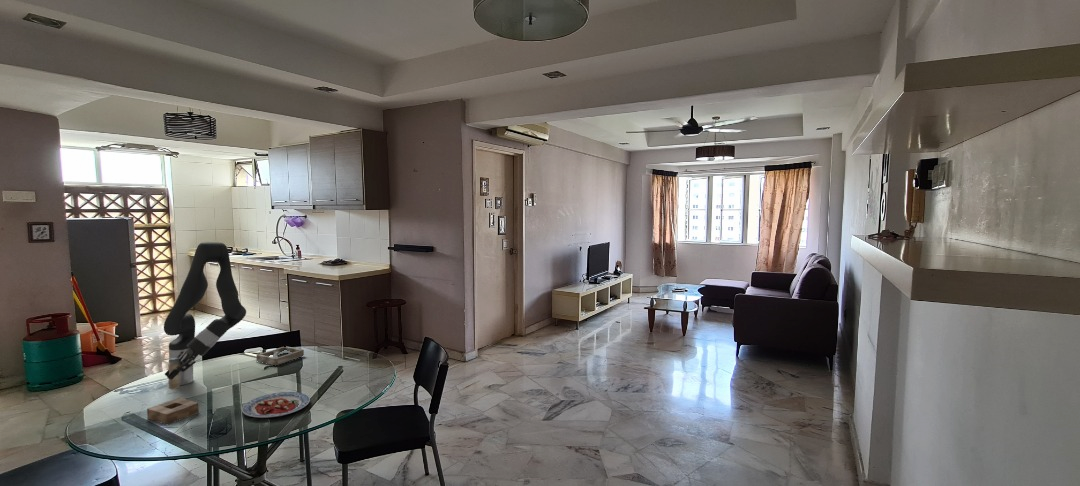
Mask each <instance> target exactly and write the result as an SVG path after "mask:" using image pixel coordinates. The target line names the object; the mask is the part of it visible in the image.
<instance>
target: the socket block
mask: <svg viewBox="0 0 1080 486" xmlns="http://www.w3.org/2000/svg"><path fill="white" fill-rule="evenodd" d="M199 404H200V403H199V402H196V401H193V400H189V399H185V398H182V397H177V398H175V399H172V400H169V401H165V402H163V403H160V404H157V405H154V406H152V407H148V408H147V409H146V413H147V414H146V418H147V420H149V419H151V420H150V421H153V420H155V421H154V422H156V421H158V422H157V423H159V422H162V423H161V424H163V423H165V424H164V425H166V424H168V425H170V424H169V423H171V424H173V423H175V422H174V421H176V422H178V421H180V420H179V419H181V420H183V419H182V418H184V419H185V417H186V418H188V416H189V417H191V416H194V415H196V414H199V412H200V411H199ZM177 420H178V421H177ZM172 422H173V423H172Z"/></svg>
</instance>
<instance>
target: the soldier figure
mask: <svg viewBox="0 0 1080 486" xmlns="http://www.w3.org/2000/svg"><path fill="white" fill-rule="evenodd" d="M273 353H274V354H273V357H274V358H278V357H279V356H278V354H279V353H280V352H279V351H278V350H277V351H273Z"/></svg>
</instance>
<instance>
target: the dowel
mask: <svg viewBox="0 0 1080 486" xmlns="http://www.w3.org/2000/svg"><path fill="white" fill-rule="evenodd" d="M168 364H169V374H170V373H171V372H172V371H173V370H174V369H175V368H176V367H177V366H178V365H179V358H171V359H169V358H168ZM168 384H169V385H168V389H170V390H174V389H178V388H180V385H179V373H178V374H177V375H176V376H175V377H174V378H173V379H172V380H171V379H169V383H168Z"/></svg>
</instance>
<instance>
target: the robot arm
mask: <svg viewBox="0 0 1080 486" xmlns="http://www.w3.org/2000/svg"><path fill="white" fill-rule="evenodd" d="M227 247H228V246H227V245H226V244H225V243H223V242H216V241H215V242H214V241H213V242H212V241H210V242H209V241H203V242H200V243H199V244H198V245H197V247H196V249H195V253H194V255H193V257H192V261H191V265H190V268H189V271H188V273H187V275H186V277H185V280H184V282H183V284H182V287H181V289H180V291H179V294H178V296H177V298H176V300H175V302H174V304H173V307H172V308H171V310H170V311H169V313H168V315H167V316H166V317H165V320H164V324H163V330H164V331H163V332H164V333H165V334H166V335H167V336H171V337H172V336H177V335H178V336H177V337H175V338H174V339H173V340H172V341H170V342H169V343H168V360H169V359H171V358H179V365H178V366H177V367H176V368H175V369H174V370H173V371H172V372H171V373H170V374H169V363H168V364H167V368H168V369H167V371H165V373H164V375H165V376H166V378H167V381H168V384H169V379H171V380H172V379H173V378H174V377H175V376H176V375H177V374H178V373H179V386H186V385H188V384H191V383H192V382H194V365H195V364H196V359H197V357H198V356H200V357H203V356H205V355H206V354H207V353H208V352H209V351H210V349H212V348H213V347H214V346H215V344H216V343H218V341H219V340H220V338H222V337H223V336H224V335H225V334H226V333H227V331H228V330H230V329H231V328H234V327H235V326H237V324H239V323H241V322H242V320H243V319H244V318H245V316H246V315H247V310H246V308H245V306H243V304H242V303H241V302H240V299H239V291H238V289H237V285H236V283H235V281H234V280H235V279H234V277H233V273H232V272H233V271H232V265H231V260H230V259H231V258H230V253H229V250H228V248H227ZM207 263H218V266H219V273H218V276H217V279H216V282H215V287H216V291H217V294H218V296H219V298H220V303H221V308H222V311H223V314H224V316H223V315H222V317H221V318H215V319H214V320H212V321H211V322H210V323H209V324H208V325H207V326H206V327H205V328H204V329H203V330H202V331H200V332H198V334H196V320H195V317H194V315H192V314H191V313H188V312H189V311H190V310H191V309H192V308H194V307H195V306H196V305H198V303H200V302H201V300H202V299H203V298H204V296H205V295H206V291H207V289H208V286H209V282H208V280H207V279H208V278H207V277H206V275H205V273H204V269H205V266H206V264H207Z"/></svg>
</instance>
